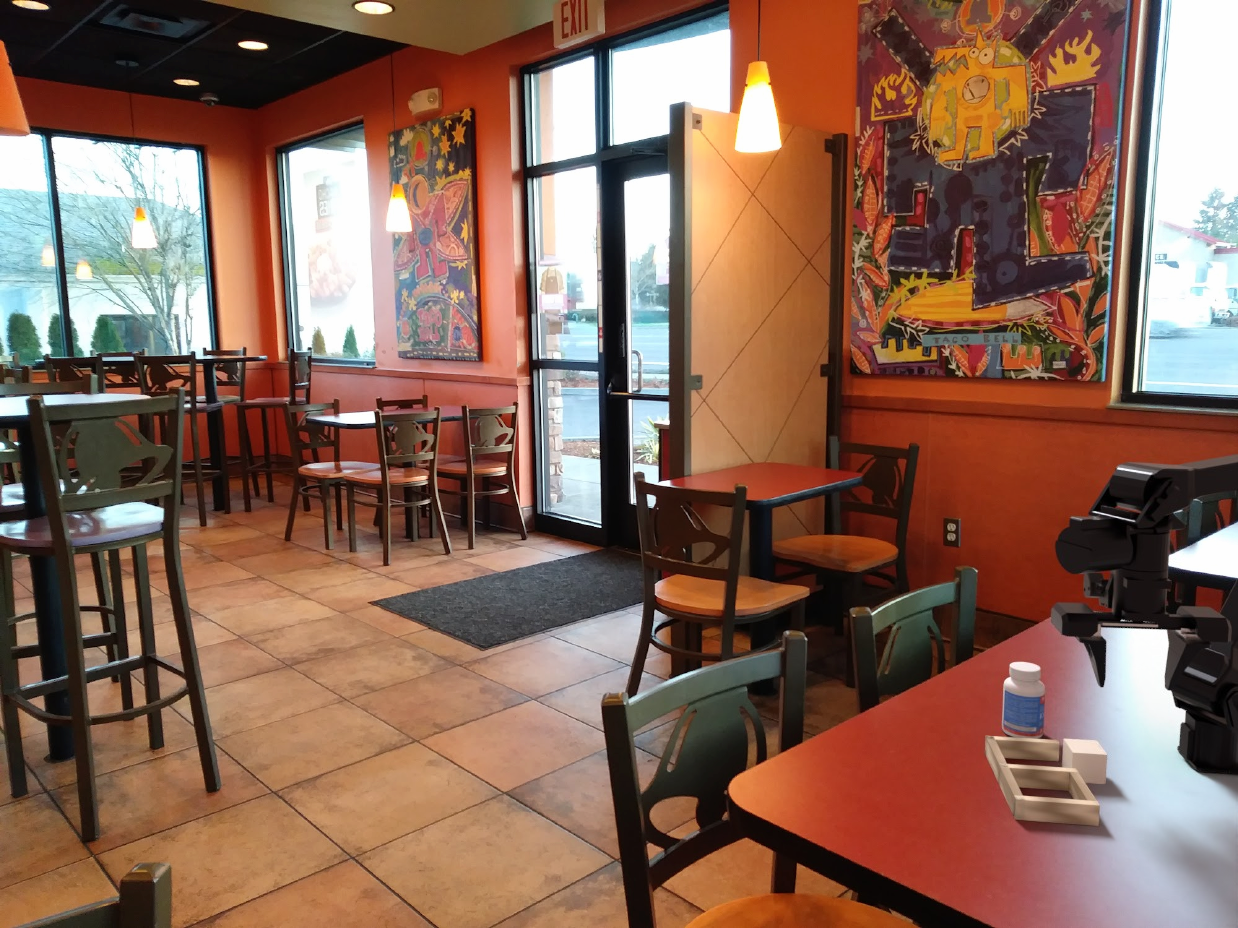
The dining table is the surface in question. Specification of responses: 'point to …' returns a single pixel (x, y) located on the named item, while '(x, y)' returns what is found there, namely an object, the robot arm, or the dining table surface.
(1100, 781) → the cream block
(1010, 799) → the caddy
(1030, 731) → the pill bottle
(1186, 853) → the dining table surface
